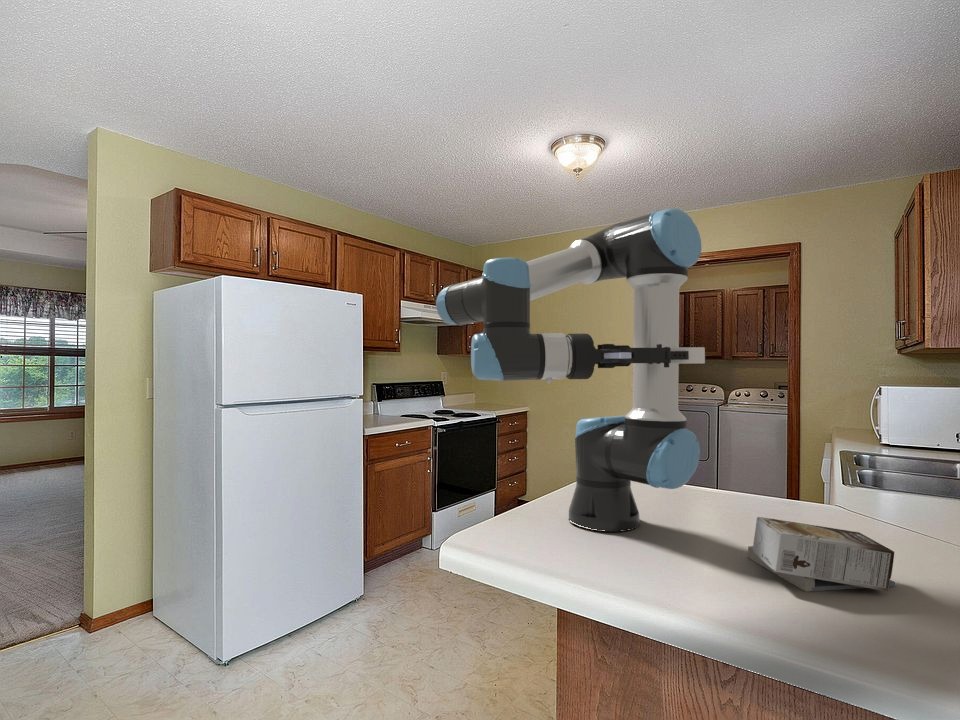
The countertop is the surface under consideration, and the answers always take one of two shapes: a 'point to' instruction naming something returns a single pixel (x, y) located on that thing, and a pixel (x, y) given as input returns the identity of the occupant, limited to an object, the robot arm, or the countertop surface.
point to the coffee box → (823, 553)
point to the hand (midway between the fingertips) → (702, 355)
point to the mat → (806, 578)
